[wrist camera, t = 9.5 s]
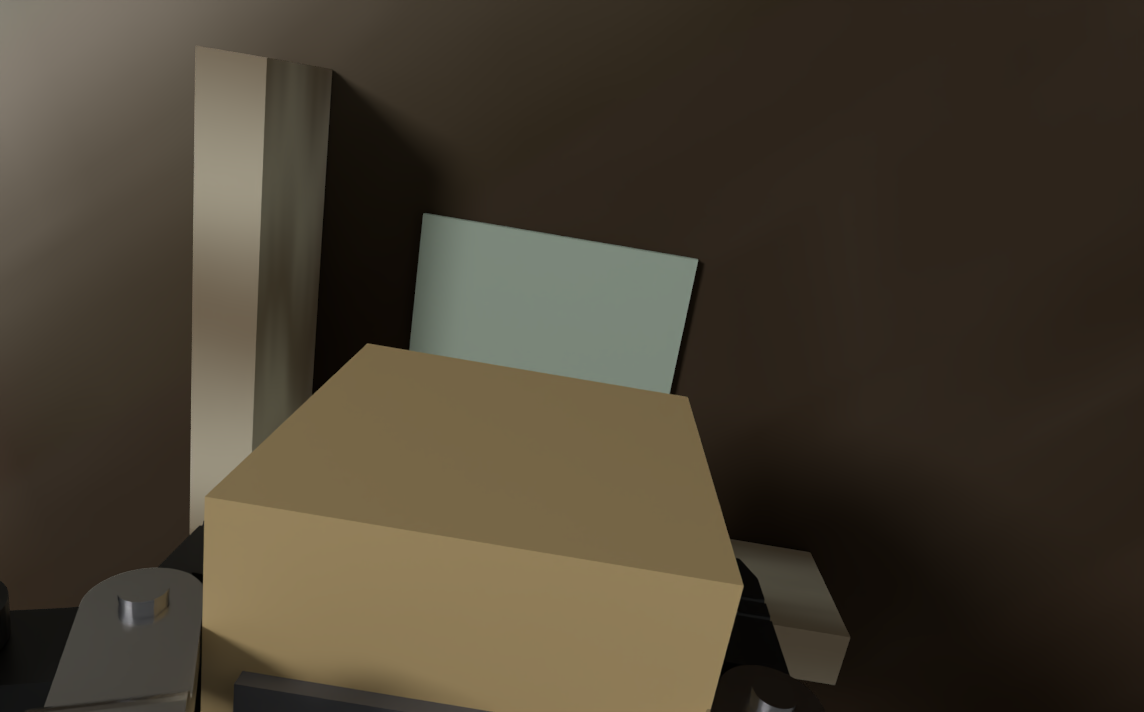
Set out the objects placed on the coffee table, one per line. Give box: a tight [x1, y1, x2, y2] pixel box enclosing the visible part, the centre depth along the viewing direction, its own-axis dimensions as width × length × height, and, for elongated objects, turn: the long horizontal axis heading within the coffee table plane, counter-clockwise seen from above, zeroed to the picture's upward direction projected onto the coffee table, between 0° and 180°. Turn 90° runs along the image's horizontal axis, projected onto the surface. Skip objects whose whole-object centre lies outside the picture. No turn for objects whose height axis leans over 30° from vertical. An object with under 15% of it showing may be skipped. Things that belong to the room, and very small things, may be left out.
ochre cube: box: [201, 343, 744, 712], centre depth 11 cm, size 6×6×6 cm
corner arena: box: [190, 46, 850, 685], centre depth 20 cm, size 13×17×4 cm
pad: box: [409, 213, 698, 394], centre depth 22 cm, size 8×8×1 cm
